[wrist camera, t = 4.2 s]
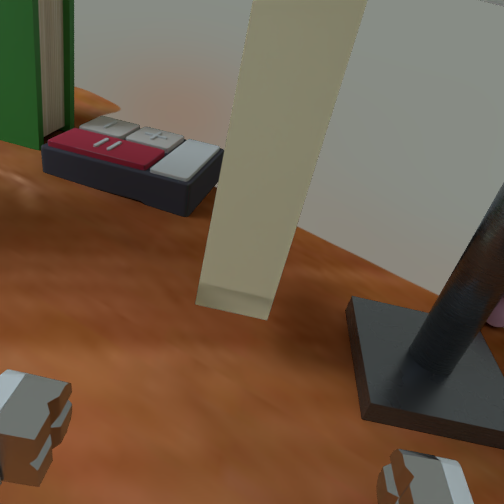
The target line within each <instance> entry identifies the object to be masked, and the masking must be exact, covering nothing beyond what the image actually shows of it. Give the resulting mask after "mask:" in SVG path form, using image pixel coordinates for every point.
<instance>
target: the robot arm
mask: <svg viewBox="0 0 504 504" xmlns="http://www.w3.org/2000/svg"><path fill="white" fill-rule="evenodd" d="M71 393H72V386H71V383H68V382H63V381H59V380H55V379H50V378H46V377H41V376H37V375H32V374H28V373H24V372H19V371H14V370H9V369H7V370H6V371H5V372H3V373H2V374H1V375H0V484H1V483H2V482H1V481H4V482H10V483H16V484H22V485H28V486H35V487H39V486H40V484H41V482H42V480H43V478H44V476H45V474H46V472H47V470H48V469H49V467H50V465H51V463H52V461H53V459H52V449H53V448H55V447H56V446H58V445H59V444H61V442H62V440H63V438H64V436H65V434H66V432H67V429H68V426H69V423H70V420H71V415H72V404H71V402H70V401H69V400H68V399H69V397H70V395H71ZM390 461H391V464H388V465H386V466H384V467H383V468H382V470H381V472H380V473H379V476H378V481H377V500H378V504H474V503H473V500H472V497H471V494H470V491H469V488H468V485H467V483H466V480H465V477H464V474H463V471H462V468H461V466H460V464H459V463H458V462H457V461H455V460H452V459H446V458H441V457H435V456H434V455H429V454H423V453H418V452H413V451H407V450H402V449H396V450H394V451H393V452H392V454H391V455H390Z"/></svg>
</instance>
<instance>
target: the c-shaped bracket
mask: <svg viewBox="0 0 504 504" xmlns="http://www.w3.org/2000/svg"><path fill="white" fill-rule="evenodd" d="M366 4H367V0H253V3H252V9H251V13H250V19H249V24H248V29H247V34H246V40H245V45H244V50H243V55H242V61H241V66H240V71H239V76H238V82H237V87H236V93H235V98H234V103H233V108H232V113H231V119H230V124H229V129H228V134H227V139H226V145H225V150H224V155H223V160H222V166H221V171H220V176H219V181H218V187H217V192H216V197H215V202H214V208H213V213H212V218H211V223H210V228H209V234H208V239H207V244H206V249H205V255H204V260H203V265H202V270H201V276H200V281H199V286H198V291H197V297H196V302H195V304H196V305H200V306H205V307H209V308H214V309H218V310H223V311H227V312H232V313H236V314H241V315H245V316H250V317H254V318H259V319H263V320H267V319H268V316H269V313H270V310H271V307H272V303H273V300H274V297H275V294H276V291H277V288H278V284H279V281H280V278H281V275H282V272H283V268H284V265H285V262H286V259H287V256H288V252H289V249H290V246H291V243H292V240H293V237H294V233H295V230H296V227H297V224H298V221H299V217H300V214H301V211H302V208H303V205H304V202H305V198H306V195H307V192H308V188H309V185H310V182H311V179H312V176H313V172H314V170H315V166H316V163H317V160H318V157H319V154H320V151H321V147H322V144H323V141H324V138H325V135H326V131H327V128H328V125H329V122H330V119H331V116H332V112H333V109H334V106H335V103H336V100H337V96H338V93H339V90H340V87H341V84H342V80H343V77H344V74H345V70H346V68H347V64H348V61H349V58H350V55H351V52H352V49H353V45H354V42H355V39H356V36H357V33H358V29H359V26H360V23H361V20H362V17H363V14H364V10H365V7H366Z"/></svg>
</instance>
